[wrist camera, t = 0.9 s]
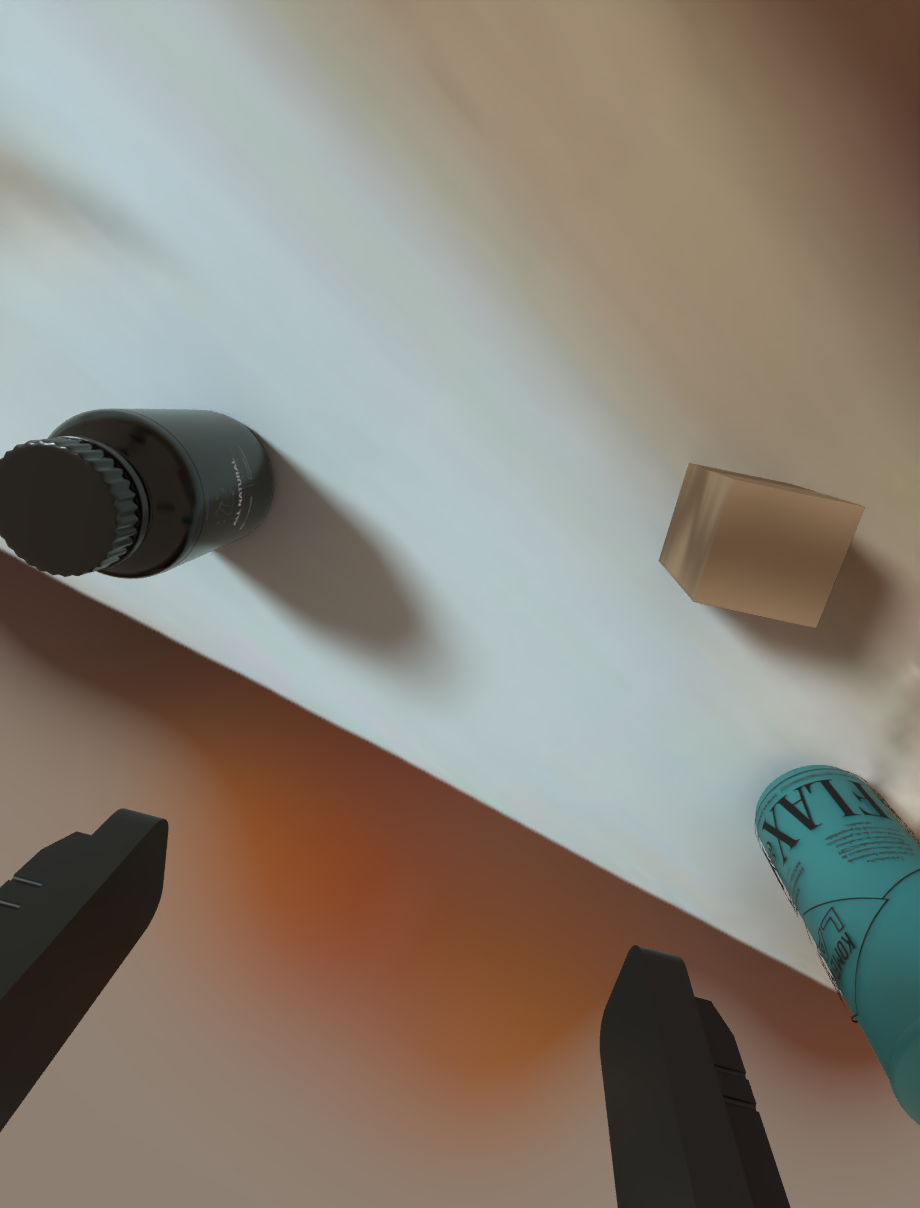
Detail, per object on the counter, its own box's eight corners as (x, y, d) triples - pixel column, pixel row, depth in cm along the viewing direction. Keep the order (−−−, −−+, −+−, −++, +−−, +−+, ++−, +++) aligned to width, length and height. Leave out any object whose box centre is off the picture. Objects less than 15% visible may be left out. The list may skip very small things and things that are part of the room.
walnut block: (688, 462, 31) (734, 479, 24) (791, 484, 30) (865, 507, 24) (658, 560, 32) (693, 601, 25) (755, 581, 32) (816, 628, 25)
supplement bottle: (303, 500, 33) (186, 552, 22) (204, 562, 35) (47, 640, 23) (226, 381, 31) (57, 369, 20) (126, 451, 33) (-82, 477, 22)
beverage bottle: (847, 730, 34) (1255, 1149, 15) (875, 829, 36) (1275, 1318, 17) (725, 766, 35) (959, 1190, 16) (758, 859, 37) (1004, 1344, 18)
